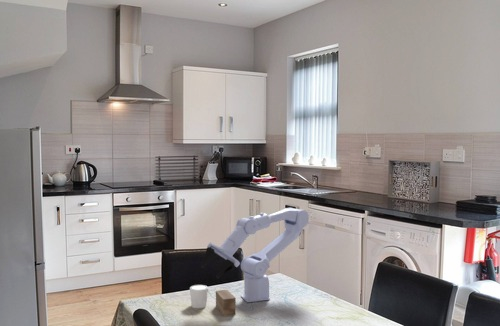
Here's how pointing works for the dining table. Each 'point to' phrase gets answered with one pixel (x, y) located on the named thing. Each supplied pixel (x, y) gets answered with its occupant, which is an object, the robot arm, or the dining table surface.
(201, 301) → the white cylinder
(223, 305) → the walnut block
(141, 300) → the dining table surface
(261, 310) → the dining table surface
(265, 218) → the robot arm
